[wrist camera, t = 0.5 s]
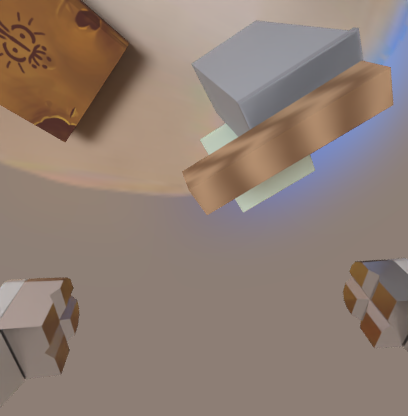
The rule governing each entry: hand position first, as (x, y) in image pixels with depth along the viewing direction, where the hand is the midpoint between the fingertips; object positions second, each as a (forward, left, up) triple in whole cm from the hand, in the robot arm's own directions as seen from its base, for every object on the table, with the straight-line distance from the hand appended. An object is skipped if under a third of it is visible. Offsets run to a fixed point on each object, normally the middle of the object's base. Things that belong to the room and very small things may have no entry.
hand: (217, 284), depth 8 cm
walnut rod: (-3, +14, -23) cm, 27 cm away
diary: (+6, -15, -50) cm, 52 cm away
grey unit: (-7, +16, -49) cm, 52 cm away
